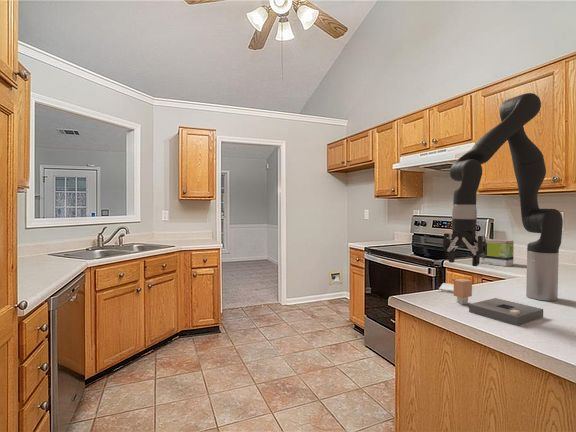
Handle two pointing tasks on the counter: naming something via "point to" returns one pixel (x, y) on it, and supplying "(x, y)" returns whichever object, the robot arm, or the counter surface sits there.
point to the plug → (462, 290)
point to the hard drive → (447, 287)
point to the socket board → (506, 311)
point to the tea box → (498, 252)
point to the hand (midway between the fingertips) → (462, 264)
